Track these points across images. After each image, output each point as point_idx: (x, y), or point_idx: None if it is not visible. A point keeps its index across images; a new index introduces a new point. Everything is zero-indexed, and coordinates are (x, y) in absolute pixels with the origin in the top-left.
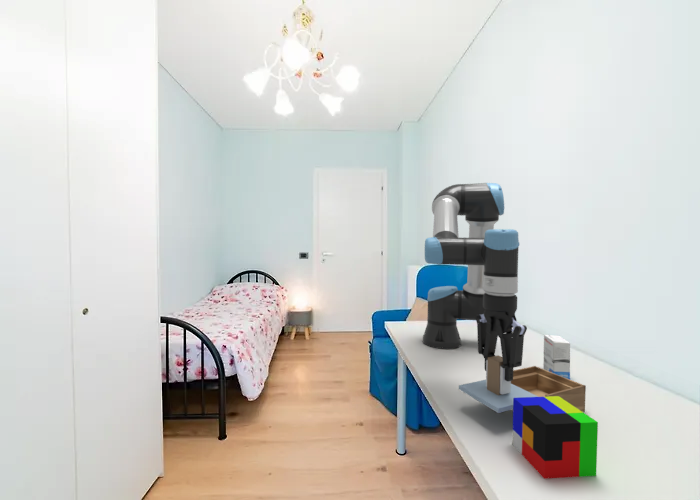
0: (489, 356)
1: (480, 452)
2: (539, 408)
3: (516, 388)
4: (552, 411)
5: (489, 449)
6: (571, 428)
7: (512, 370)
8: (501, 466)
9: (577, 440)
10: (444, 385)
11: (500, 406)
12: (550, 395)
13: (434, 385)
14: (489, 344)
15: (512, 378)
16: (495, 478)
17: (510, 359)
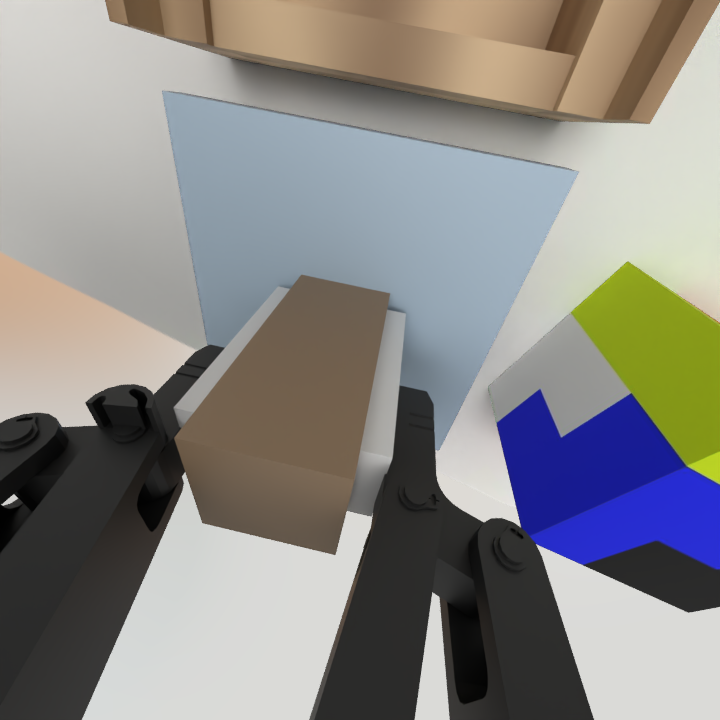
0: (169, 480)
1: (442, 456)
2: (660, 556)
3: (380, 178)
4: None
5: (451, 437)
6: None
7: (431, 466)
8: (501, 464)
9: None
10: (63, 223)
11: (435, 434)
12: (680, 65)
13: (64, 262)
14: (93, 687)
15: (432, 413)
16: (505, 492)
17: (449, 653)
